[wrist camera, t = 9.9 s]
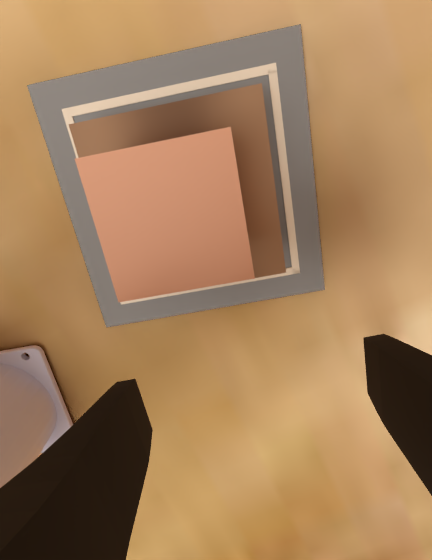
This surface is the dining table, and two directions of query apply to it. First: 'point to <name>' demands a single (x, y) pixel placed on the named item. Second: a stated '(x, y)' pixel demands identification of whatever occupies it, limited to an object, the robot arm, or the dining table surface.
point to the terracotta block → (169, 214)
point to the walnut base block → (196, 119)
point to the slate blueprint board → (179, 86)
